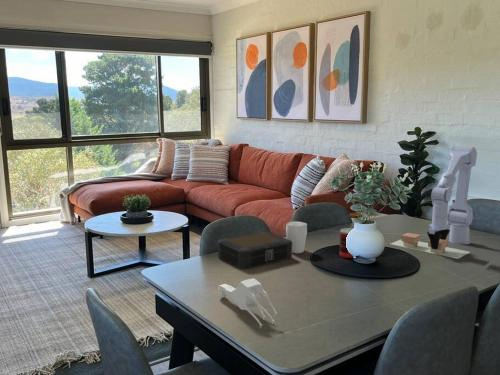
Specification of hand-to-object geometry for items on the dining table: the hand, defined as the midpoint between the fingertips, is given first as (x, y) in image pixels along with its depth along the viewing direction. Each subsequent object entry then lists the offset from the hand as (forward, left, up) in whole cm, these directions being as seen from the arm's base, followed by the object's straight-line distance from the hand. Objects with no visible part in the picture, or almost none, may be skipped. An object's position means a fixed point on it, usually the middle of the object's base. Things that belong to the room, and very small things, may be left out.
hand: (437, 247), depth 199 cm
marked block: (0, -12, -2) cm, 12 cm away
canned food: (+29, -25, -3) cm, 38 cm away
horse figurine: (+97, -18, -3) cm, 99 cm away
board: (-3, -5, -3) cm, 7 cm away
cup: (+39, -45, -3) cm, 59 cm away
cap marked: (0, -12, 0) cm, 12 cm away
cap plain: (0, 0, 0) cm, 0 cm away
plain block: (0, 0, -2) cm, 2 cm away
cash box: (+57, -51, -3) cm, 77 cm away
